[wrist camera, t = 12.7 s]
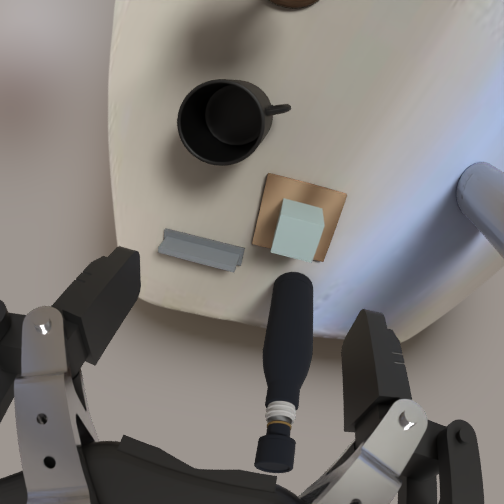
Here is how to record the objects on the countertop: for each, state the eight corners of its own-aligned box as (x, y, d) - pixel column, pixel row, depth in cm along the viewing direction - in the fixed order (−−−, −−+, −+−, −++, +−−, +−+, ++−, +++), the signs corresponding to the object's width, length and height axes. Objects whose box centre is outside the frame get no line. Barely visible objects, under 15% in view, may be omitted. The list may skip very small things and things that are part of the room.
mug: (298, 139, 38) (297, 155, 30) (211, 154, 40) (188, 173, 33) (285, 70, 33) (280, 65, 25) (195, 89, 36) (167, 92, 28)
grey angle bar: (244, 248, 47) (239, 262, 44) (241, 263, 49) (236, 278, 45) (165, 228, 48) (155, 240, 44) (165, 244, 49) (155, 256, 46)
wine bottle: (278, 267, 48) (245, 453, 23) (317, 276, 48) (314, 462, 23) (270, 298, 52) (237, 470, 26) (307, 305, 51) (296, 479, 26)
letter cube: (322, 208, 41) (324, 226, 36) (310, 243, 44) (311, 264, 40) (283, 198, 41) (280, 214, 37) (274, 234, 44) (270, 253, 40)
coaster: (346, 193, 40) (346, 195, 40) (323, 259, 46) (323, 261, 45) (268, 172, 41) (267, 174, 40) (252, 241, 46) (252, 244, 46)
